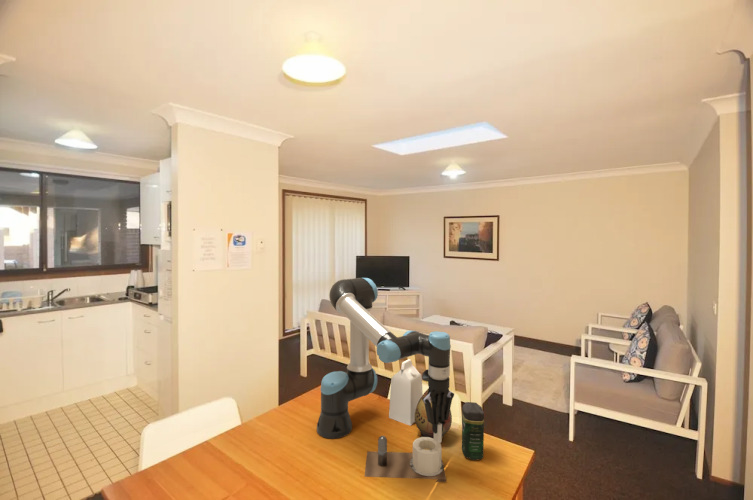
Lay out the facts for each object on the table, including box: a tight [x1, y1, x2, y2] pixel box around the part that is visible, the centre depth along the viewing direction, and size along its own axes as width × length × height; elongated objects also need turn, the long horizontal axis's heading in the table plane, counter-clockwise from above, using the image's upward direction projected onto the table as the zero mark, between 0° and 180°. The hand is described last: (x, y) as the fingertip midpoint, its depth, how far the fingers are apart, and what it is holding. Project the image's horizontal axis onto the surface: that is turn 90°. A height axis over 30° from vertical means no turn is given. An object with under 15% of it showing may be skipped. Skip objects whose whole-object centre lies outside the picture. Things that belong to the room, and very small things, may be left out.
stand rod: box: [377, 435, 388, 467], centre depth 124 cm, size 3×3×10 cm
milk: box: [388, 358, 424, 427], centre depth 160 cm, size 12×12×26 cm
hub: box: [410, 448, 445, 477], centre depth 124 cm, size 12×12×6 cm
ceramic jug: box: [414, 368, 453, 439], centre depth 144 cm, size 17×15×30 cm
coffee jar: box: [461, 401, 485, 461], centre depth 132 cm, size 10×8×19 cm
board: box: [364, 450, 447, 483], centre depth 124 cm, size 28×14×1 cm, turn 88°
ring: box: [412, 436, 443, 474], centre depth 124 cm, size 10×10×7 cm
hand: (437, 440), depth 123 cm, fingers closed
